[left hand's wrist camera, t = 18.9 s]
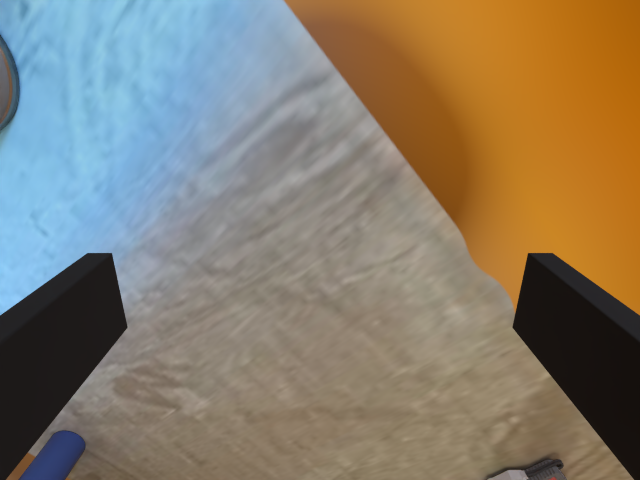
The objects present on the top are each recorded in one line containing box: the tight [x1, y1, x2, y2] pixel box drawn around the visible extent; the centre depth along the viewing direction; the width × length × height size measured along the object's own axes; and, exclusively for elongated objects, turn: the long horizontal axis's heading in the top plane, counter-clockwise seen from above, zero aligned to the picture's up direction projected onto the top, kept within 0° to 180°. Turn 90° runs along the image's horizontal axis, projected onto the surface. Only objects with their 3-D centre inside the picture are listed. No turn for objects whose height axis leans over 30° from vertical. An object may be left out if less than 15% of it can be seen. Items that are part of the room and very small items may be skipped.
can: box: [19, 431, 85, 480], centre depth 59 cm, size 6×6×12 cm
